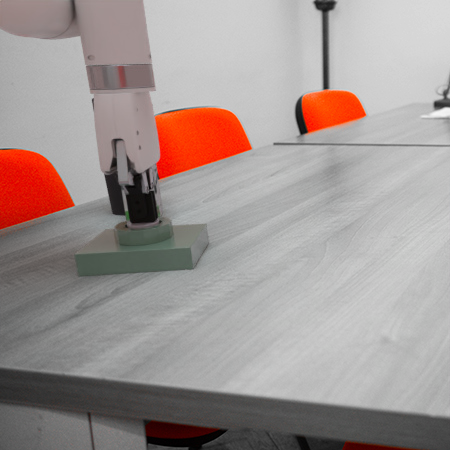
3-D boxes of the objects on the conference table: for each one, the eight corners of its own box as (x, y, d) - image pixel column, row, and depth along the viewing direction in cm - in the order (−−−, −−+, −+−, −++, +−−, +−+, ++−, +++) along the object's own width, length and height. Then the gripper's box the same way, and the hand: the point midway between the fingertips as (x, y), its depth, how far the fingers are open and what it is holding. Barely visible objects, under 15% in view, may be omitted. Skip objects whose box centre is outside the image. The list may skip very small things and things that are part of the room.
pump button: (124, 241, 75) (122, 226, 74) (134, 232, 79) (132, 218, 78) (156, 239, 75) (154, 224, 75) (164, 230, 79) (162, 216, 79)
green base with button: (78, 276, 72) (70, 239, 70) (108, 248, 82) (103, 215, 81) (193, 269, 74) (188, 232, 72) (209, 242, 84) (205, 210, 83)
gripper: (111, 79, 78) (132, 208, 83) (64, 84, 64) (94, 240, 69) (168, 77, 79) (186, 205, 84) (135, 81, 65) (158, 236, 70)
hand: (144, 221), depth 76 cm, fingers closed
